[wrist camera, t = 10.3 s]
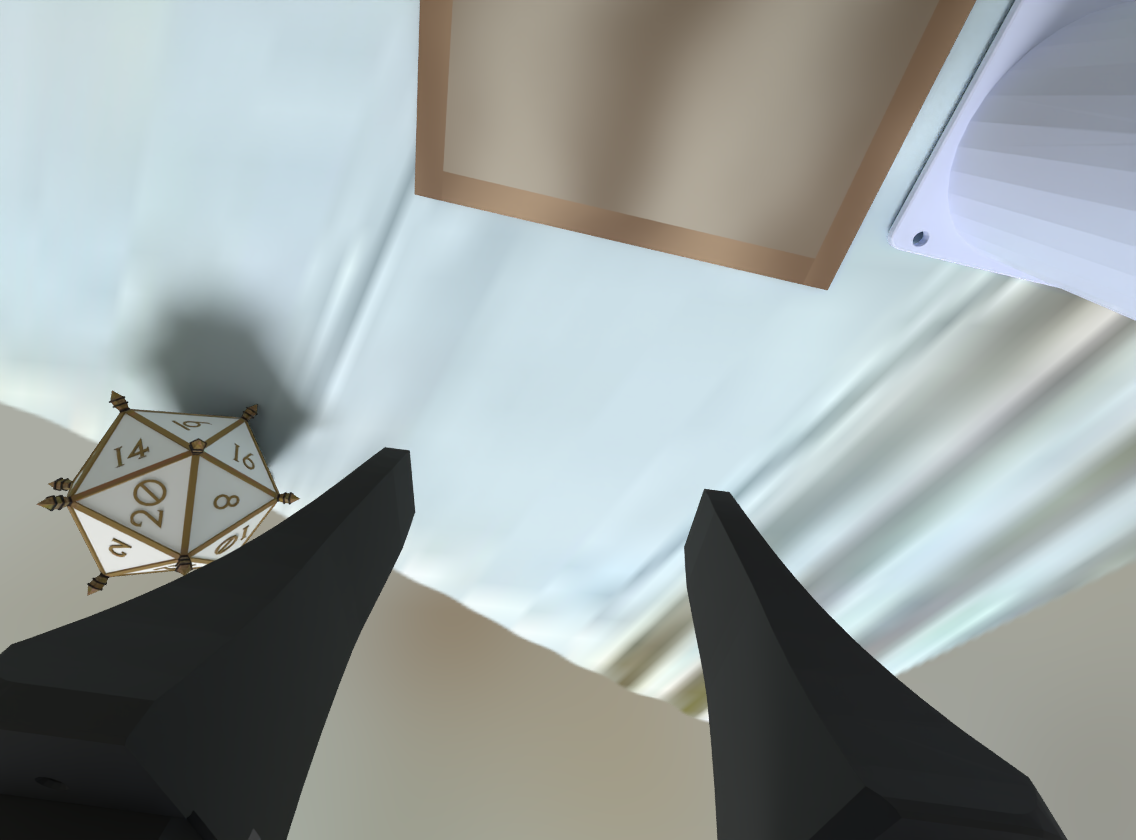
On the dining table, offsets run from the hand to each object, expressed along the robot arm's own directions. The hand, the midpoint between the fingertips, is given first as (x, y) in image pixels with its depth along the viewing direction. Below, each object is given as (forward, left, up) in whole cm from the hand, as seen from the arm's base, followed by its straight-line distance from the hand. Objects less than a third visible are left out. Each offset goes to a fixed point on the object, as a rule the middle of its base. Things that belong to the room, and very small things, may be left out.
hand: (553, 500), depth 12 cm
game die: (+16, +10, -11) cm, 22 cm away
